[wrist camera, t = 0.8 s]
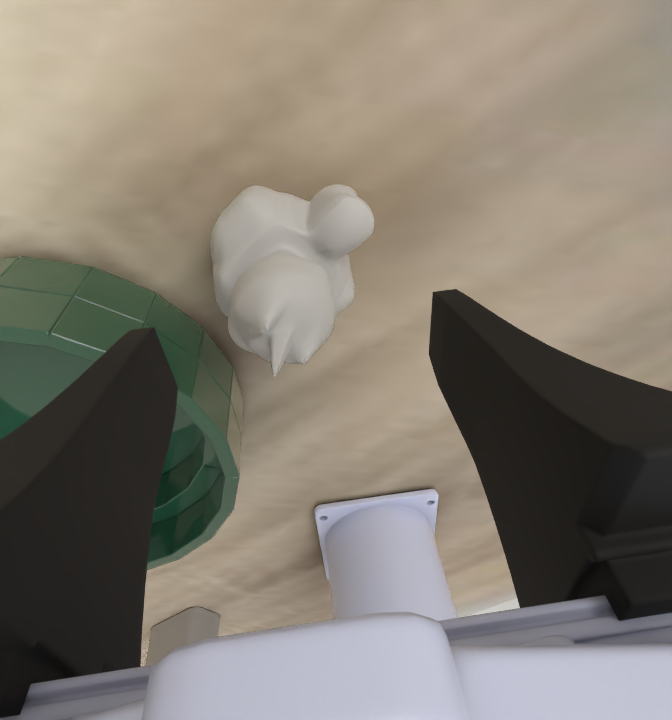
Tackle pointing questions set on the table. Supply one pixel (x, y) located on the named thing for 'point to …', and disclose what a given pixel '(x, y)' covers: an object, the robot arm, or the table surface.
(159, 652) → the power adapter
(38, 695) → the robot arm
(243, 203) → the grey lumpy piece
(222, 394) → the bowl
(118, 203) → the table surface
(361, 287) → the table surface
